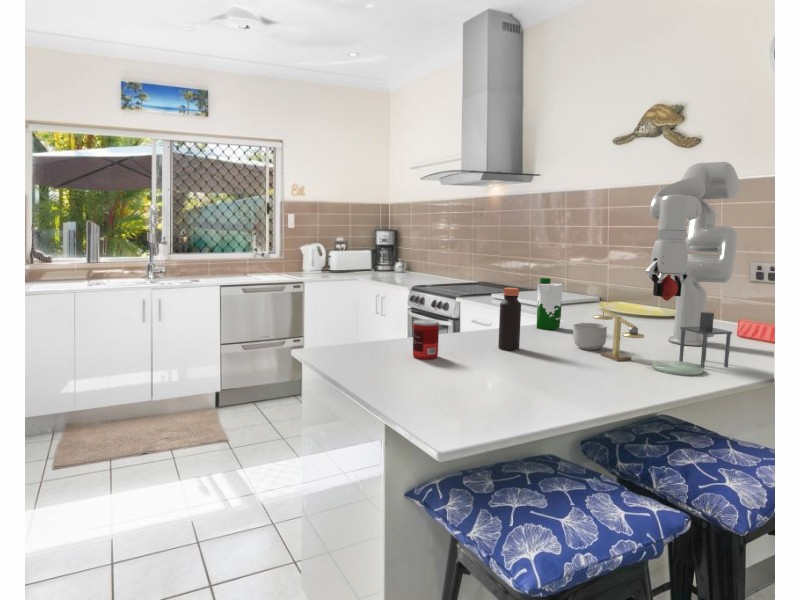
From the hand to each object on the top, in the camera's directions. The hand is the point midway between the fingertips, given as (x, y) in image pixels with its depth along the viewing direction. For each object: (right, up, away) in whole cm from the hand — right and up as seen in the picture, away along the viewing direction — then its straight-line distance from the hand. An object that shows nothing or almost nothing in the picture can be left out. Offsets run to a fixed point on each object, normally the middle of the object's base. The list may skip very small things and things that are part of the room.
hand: (666, 295), depth 172 cm
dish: (-2, -21, -11) cm, 24 cm away
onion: (0, -2, 0) cm, 2 cm away
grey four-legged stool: (+9, -21, -3) cm, 23 cm away
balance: (-14, -19, +3) cm, 24 cm away
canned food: (-74, -19, 0) cm, 76 cm away
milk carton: (-22, -13, +55) cm, 61 cm away
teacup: (-18, -18, +19) cm, 31 cm away
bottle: (-45, -18, +14) cm, 51 cm away
